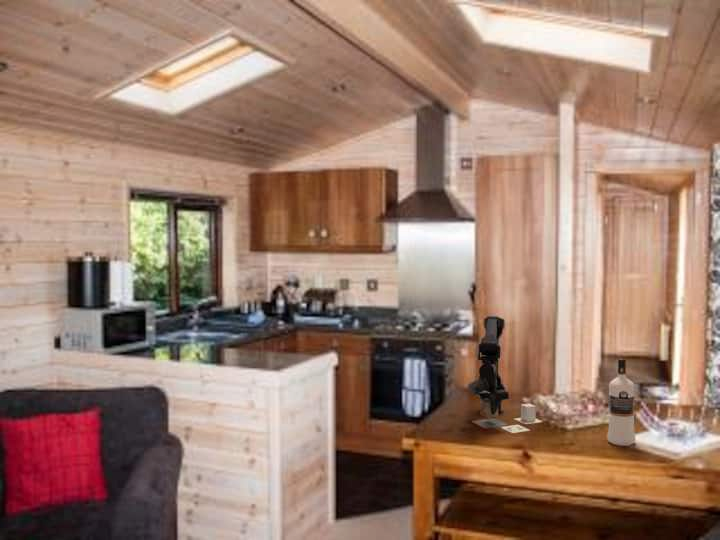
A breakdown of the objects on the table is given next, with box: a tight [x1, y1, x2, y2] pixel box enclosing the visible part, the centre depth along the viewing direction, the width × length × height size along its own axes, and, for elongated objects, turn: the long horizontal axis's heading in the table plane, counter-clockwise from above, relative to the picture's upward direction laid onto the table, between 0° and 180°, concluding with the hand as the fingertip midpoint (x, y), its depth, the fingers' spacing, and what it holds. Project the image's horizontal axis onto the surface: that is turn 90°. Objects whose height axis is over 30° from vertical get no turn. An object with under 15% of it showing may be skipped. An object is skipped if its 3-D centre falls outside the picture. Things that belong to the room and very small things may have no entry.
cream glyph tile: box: [500, 424, 531, 434], centre depth 252 cm, size 8×8×1 cm
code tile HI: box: [514, 417, 543, 425], centre depth 262 cm, size 8×8×1 cm
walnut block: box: [479, 399, 499, 419], centre depth 259 cm, size 5×5×6 cm
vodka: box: [606, 357, 636, 447], centre depth 234 cm, size 9×9×30 cm
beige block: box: [520, 403, 537, 422], centre depth 262 cm, size 4×4×6 cm
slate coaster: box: [471, 417, 508, 429], centre depth 259 cm, size 10×10×1 cm
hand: (489, 412), depth 259 cm, fingers closed on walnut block, 5 cm apart
